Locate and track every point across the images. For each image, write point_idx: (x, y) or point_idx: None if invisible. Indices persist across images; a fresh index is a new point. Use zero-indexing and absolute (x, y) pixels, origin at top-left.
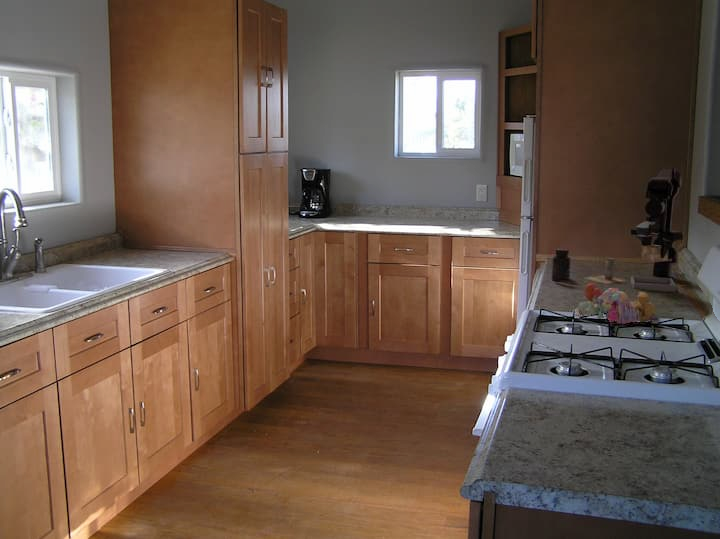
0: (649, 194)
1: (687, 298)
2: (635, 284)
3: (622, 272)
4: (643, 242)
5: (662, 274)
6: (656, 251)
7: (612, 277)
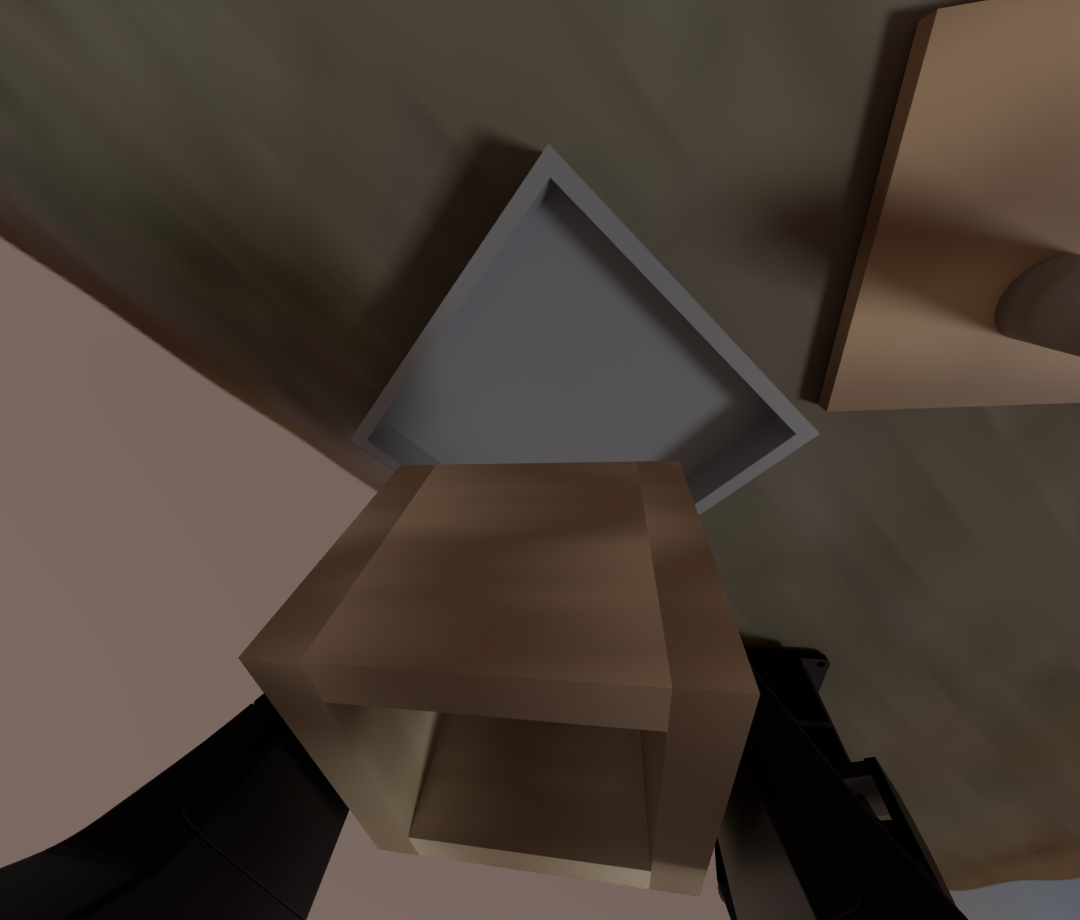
0: None
1: (192, 340)
2: (534, 166)
3: (1065, 643)
4: (864, 905)
5: None
6: (299, 595)
7: (1010, 324)
